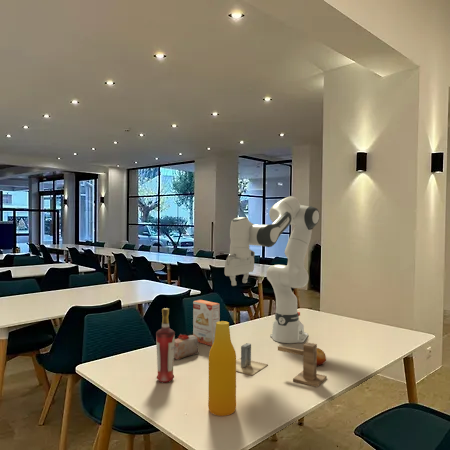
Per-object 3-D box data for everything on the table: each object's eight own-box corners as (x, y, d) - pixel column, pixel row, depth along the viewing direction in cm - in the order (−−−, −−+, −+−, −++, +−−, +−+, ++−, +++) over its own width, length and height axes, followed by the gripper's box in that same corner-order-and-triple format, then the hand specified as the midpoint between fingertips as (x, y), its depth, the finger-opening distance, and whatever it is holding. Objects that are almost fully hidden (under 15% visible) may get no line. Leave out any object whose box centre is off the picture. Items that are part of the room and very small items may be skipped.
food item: (176, 361, 178) (176, 339, 178) (166, 357, 184) (166, 335, 184) (200, 354, 188) (200, 333, 188) (189, 350, 194) (189, 330, 194)
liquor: (157, 376, 161) (158, 306, 161) (176, 376, 161) (176, 307, 161) (154, 383, 154) (154, 311, 153) (173, 384, 154) (173, 311, 153)
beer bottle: (203, 413, 130) (204, 324, 130) (214, 401, 139) (214, 318, 139) (230, 418, 127) (230, 327, 127) (239, 406, 136) (240, 320, 135)
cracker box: (192, 341, 208) (192, 300, 208) (200, 338, 213) (201, 299, 212) (211, 347, 199) (211, 304, 198) (220, 344, 203) (220, 303, 203)
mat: (240, 358, 182) (240, 358, 182) (267, 365, 174) (267, 364, 174) (223, 368, 170) (223, 367, 170) (252, 375, 162) (252, 374, 162)
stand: (283, 368, 170) (283, 335, 170) (326, 378, 160) (326, 343, 160) (273, 376, 162) (273, 341, 162) (317, 387, 152) (317, 350, 151)
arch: (246, 363, 175) (247, 343, 175) (250, 364, 174) (251, 343, 174) (241, 367, 171) (241, 346, 170) (245, 368, 169) (245, 346, 169)
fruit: (310, 355, 183) (318, 342, 180) (323, 368, 178) (331, 355, 175) (299, 359, 177) (307, 346, 174) (312, 373, 172) (321, 359, 169)
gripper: (233, 255, 170) (233, 288, 170) (256, 252, 187) (256, 281, 187) (220, 254, 173) (220, 286, 173) (244, 251, 190) (244, 280, 191)
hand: (239, 284), depth 180 cm, fingers open, 8 cm apart
